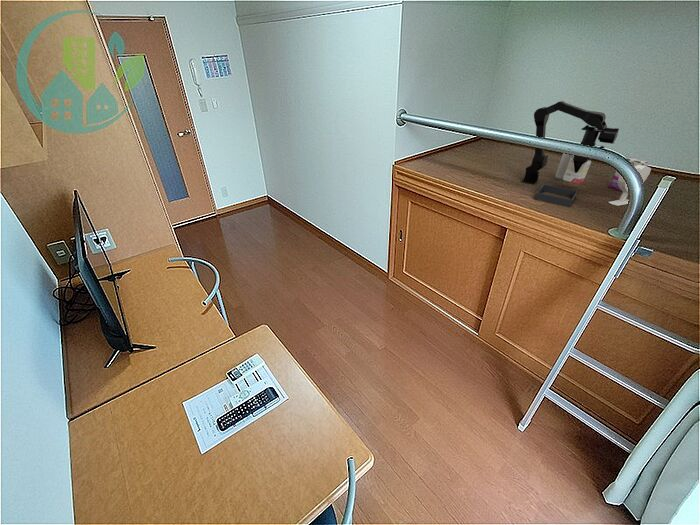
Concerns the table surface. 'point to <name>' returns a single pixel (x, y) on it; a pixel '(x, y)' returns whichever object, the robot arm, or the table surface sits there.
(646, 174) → the heart sculpture
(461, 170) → the table surface
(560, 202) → the dark grey tray frame
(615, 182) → the candy bar box
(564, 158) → the travel mug
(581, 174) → the ink box
